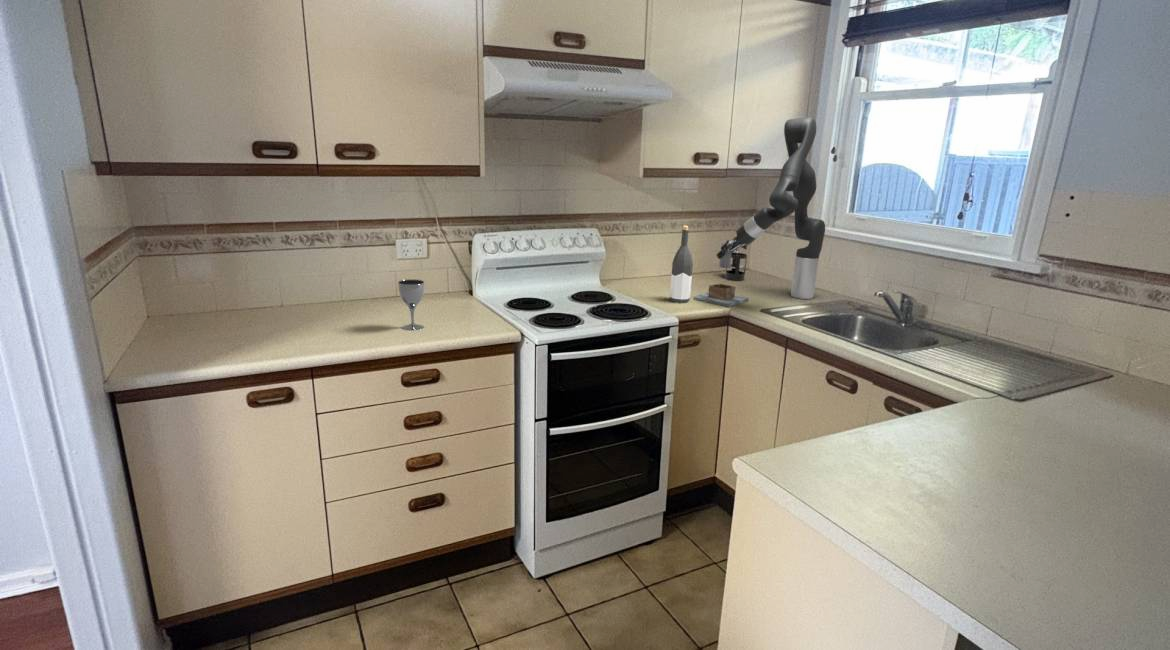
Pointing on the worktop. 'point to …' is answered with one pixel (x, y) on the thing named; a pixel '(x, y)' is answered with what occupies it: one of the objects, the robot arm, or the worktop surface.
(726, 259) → the grey cylinder
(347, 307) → the worktop surface
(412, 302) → the wine glass
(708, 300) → the socket
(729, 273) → the french press
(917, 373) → the worktop surface
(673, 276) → the wine bottle
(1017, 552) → the worktop surface
